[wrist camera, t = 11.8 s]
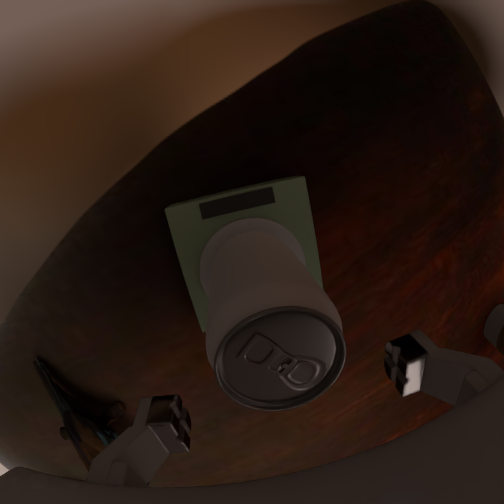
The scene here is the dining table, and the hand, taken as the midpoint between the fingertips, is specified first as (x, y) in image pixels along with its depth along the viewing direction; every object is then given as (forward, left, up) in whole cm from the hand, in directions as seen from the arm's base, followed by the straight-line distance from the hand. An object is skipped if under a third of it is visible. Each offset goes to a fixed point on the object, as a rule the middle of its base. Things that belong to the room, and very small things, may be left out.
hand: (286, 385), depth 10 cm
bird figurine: (+16, -23, -17) cm, 33 cm away
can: (0, 0, -14) cm, 14 cm away
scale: (-1, 0, -16) cm, 17 cm away
